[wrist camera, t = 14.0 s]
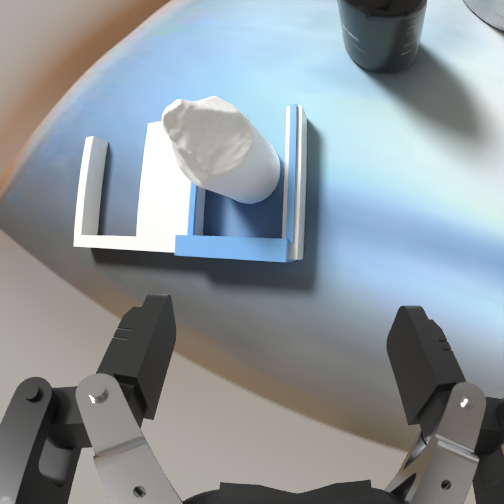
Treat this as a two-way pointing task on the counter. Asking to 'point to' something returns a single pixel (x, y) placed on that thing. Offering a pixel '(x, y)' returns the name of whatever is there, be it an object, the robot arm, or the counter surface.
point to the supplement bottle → (382, 32)
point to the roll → (221, 149)
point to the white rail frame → (190, 203)
